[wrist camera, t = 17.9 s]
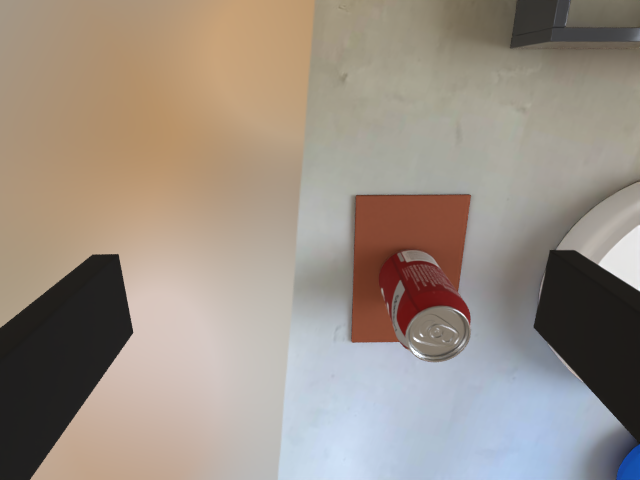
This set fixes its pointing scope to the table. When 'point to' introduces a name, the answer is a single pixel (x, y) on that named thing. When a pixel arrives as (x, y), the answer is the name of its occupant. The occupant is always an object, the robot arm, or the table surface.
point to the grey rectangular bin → (564, 29)
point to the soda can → (424, 306)
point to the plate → (609, 238)
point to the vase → (630, 466)
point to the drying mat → (399, 234)
